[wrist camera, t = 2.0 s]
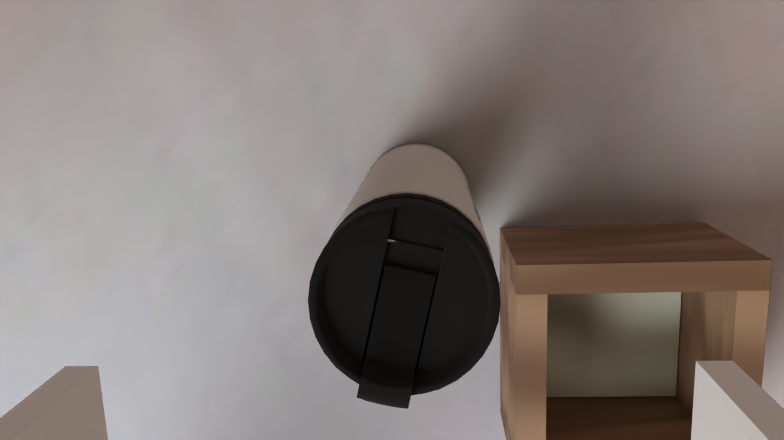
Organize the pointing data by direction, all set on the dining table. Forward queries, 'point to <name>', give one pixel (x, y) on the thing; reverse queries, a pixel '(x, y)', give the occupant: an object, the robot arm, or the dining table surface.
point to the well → (622, 326)
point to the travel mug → (406, 279)
